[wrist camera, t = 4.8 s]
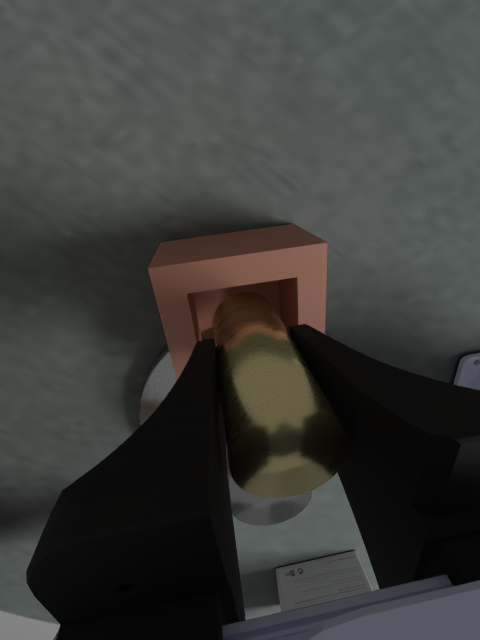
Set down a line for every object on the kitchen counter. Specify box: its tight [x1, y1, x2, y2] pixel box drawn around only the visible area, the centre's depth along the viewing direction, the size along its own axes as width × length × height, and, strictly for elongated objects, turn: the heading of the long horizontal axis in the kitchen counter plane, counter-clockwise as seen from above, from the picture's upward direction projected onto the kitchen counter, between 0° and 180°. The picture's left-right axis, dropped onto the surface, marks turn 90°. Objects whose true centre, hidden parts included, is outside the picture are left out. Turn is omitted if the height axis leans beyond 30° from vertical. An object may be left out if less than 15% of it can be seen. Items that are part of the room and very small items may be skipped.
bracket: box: [148, 224, 327, 379], centre depth 15 cm, size 7×10×4 cm
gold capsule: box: [213, 292, 349, 498], centre depth 10 cm, size 3×3×7 cm
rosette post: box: [139, 328, 331, 525], centre depth 17 cm, size 14×14×7 cm
